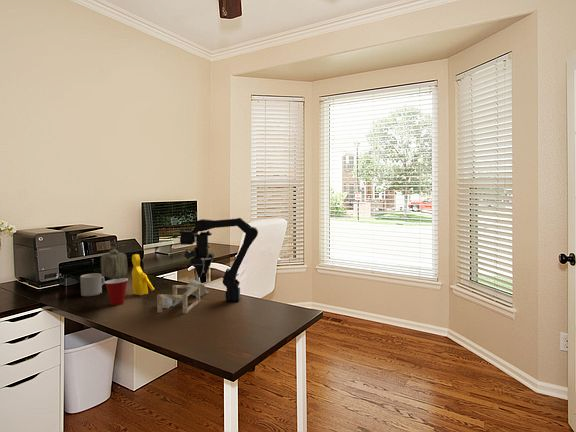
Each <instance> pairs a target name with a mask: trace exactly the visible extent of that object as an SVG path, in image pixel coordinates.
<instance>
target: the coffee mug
mask: <svg viewBox="0 0 576 432" xmlns="http://www.w3.org/2000/svg"><path fill="white" fill-rule="evenodd" d="M105 281H106V280H105V276H103V275H102V274H101V273H96V272H95V273H87V274H82V275H80V296H82V297H91V296H92V297H93V296H98V295H101V294H102V293H103V286H104V285H105V283H104V282H105ZM100 293H101V294H100Z"/></svg>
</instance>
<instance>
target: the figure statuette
mask: <svg viewBox="0 0 576 432" xmlns="http://www.w3.org/2000/svg"><path fill="white" fill-rule="evenodd" d="M131 262H132V265H133V267H132V270H131V277H132V284H131V288H132V294H133V295H137V296H143V295H148V294H149V289H150V291H151V292H152V291H154V290H155V287H153V284H152V283H151V281H150V280H149V278H148V276H147V274H146V273H144V272H143V269H142V267H141V257H140V254H138V253H135V254H132V256H131ZM148 287H149V288H148Z"/></svg>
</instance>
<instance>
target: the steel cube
mask: <svg viewBox="0 0 576 432" xmlns="http://www.w3.org/2000/svg"><path fill="white" fill-rule="evenodd" d="M172 305H173V298H164V297H162V309H169V308H170V307H173V306H172Z"/></svg>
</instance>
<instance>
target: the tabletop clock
mask: <svg viewBox="0 0 576 432" xmlns="http://www.w3.org/2000/svg"><path fill="white" fill-rule="evenodd" d="M111 244H114V245H115V246H112V245H111ZM109 247H110V248H111V249H110V250H109V251H108V253H105V254H103V255H102V256H100V274H101V276H103V277H106V278H109V279H110V280H113V279H117V278H118V279H121V278H122V277H125V276H127V275H128V258H127V255H126V254H125V253H123V252H119V251H118V249H117V247H118V245H117V243H116V242H115V241H112V242H110V243H109Z"/></svg>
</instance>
